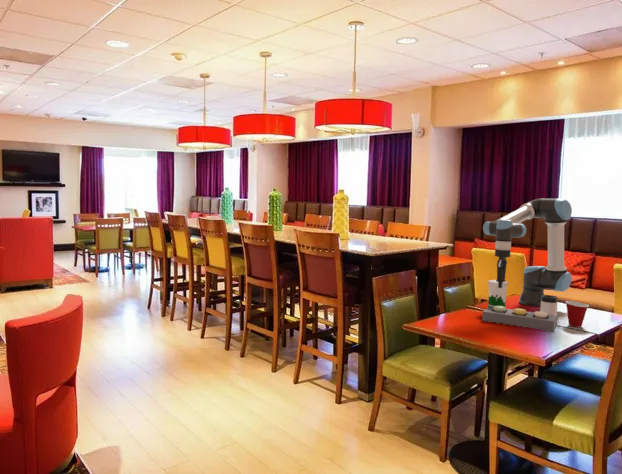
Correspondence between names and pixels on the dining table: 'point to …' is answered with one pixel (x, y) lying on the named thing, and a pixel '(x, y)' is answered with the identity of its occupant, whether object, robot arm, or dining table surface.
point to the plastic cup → (576, 313)
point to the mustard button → (520, 311)
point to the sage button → (499, 308)
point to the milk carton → (493, 296)
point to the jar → (549, 304)
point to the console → (520, 319)
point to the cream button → (540, 314)
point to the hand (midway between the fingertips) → (500, 293)
